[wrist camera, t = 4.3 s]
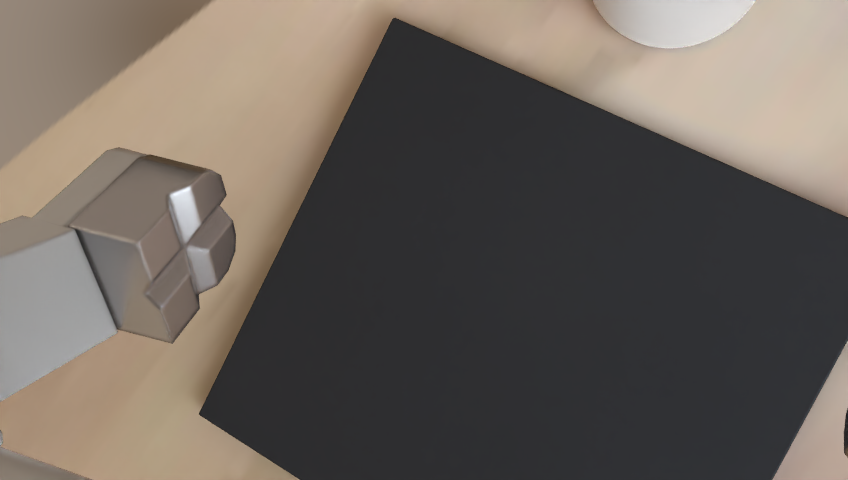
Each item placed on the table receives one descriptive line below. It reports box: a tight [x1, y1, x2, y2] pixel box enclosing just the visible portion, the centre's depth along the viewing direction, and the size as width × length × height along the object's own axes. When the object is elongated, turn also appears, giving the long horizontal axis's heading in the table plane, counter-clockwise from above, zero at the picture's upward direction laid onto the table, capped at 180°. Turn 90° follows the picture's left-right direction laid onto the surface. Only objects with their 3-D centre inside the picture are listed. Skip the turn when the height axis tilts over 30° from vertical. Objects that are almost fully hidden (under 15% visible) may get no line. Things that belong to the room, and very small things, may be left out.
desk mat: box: [199, 18, 848, 480], centre depth 30 cm, size 20×18×1 cm
